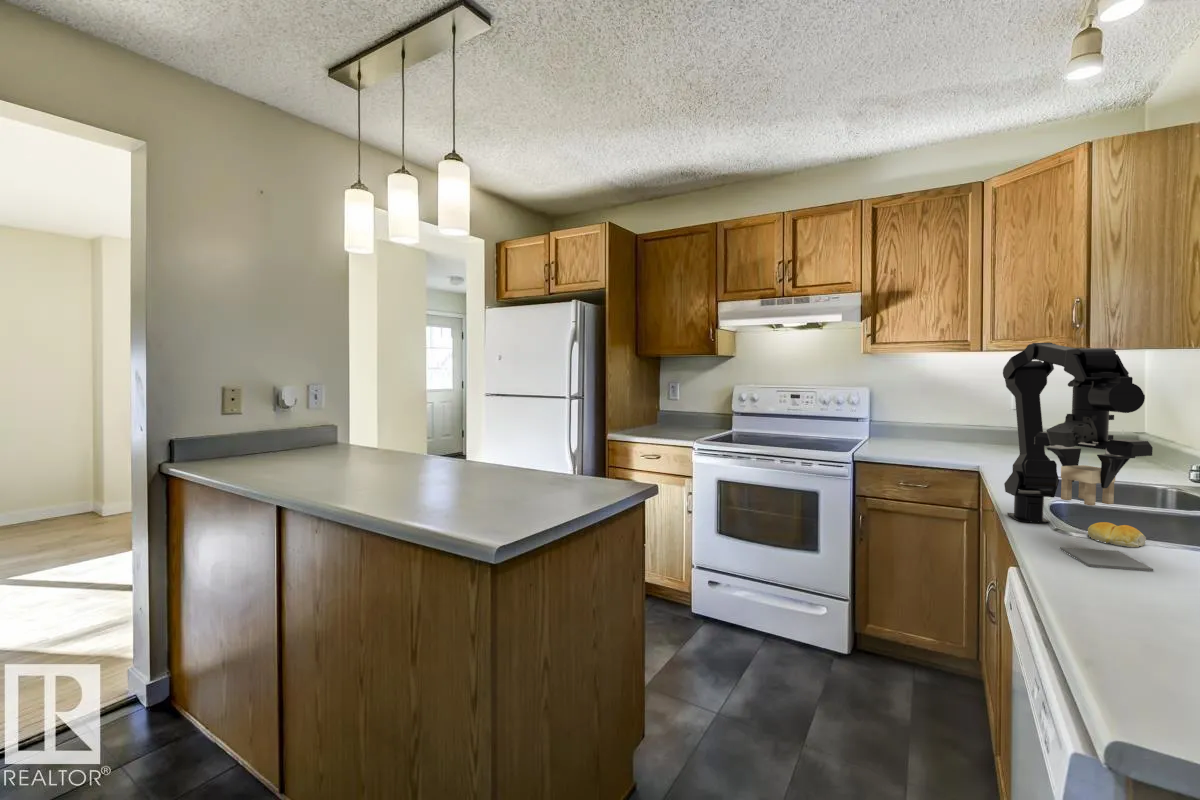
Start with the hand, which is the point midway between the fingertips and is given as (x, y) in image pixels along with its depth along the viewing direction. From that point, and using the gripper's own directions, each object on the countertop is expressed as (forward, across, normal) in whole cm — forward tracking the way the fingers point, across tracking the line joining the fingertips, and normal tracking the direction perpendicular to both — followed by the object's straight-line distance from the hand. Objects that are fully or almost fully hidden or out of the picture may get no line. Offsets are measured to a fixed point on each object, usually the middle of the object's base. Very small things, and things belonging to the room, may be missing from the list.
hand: (1087, 484), depth 113 cm
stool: (+4, 0, 0) cm, 4 cm away
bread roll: (+14, -2, +12) cm, 18 cm away
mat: (+14, +6, -3) cm, 15 cm away
